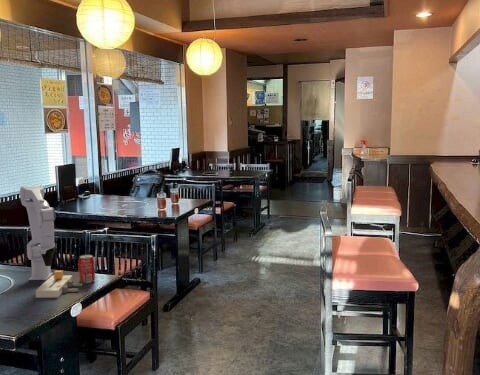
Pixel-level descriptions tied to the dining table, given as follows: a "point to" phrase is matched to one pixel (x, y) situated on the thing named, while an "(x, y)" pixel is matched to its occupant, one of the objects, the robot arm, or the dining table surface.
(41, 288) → the slider switch box
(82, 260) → the soda can
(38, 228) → the robot arm
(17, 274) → the dining table surface
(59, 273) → the knob
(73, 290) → the white peg legs
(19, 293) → the dining table surface
